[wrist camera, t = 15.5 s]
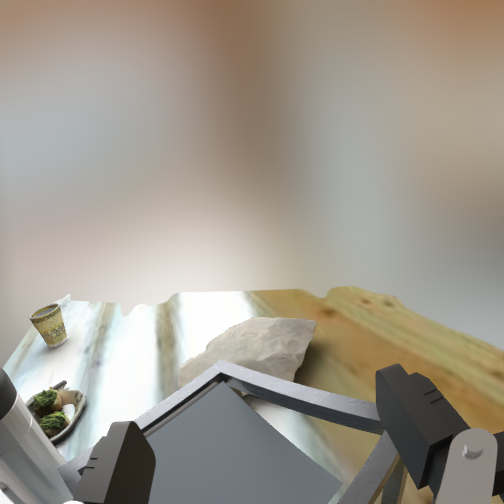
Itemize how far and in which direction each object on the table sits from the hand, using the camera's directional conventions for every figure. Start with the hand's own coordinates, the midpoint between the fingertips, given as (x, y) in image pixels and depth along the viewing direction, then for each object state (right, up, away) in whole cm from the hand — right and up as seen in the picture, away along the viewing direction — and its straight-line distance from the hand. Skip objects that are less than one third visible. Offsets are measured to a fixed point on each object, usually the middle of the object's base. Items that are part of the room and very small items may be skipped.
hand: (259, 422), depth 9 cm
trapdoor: (-3, -13, +10) cm, 17 cm away
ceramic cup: (-55, -20, +70) cm, 91 cm away
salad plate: (-38, -26, +35) cm, 57 cm away
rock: (+1, -15, +41) cm, 44 cm away
